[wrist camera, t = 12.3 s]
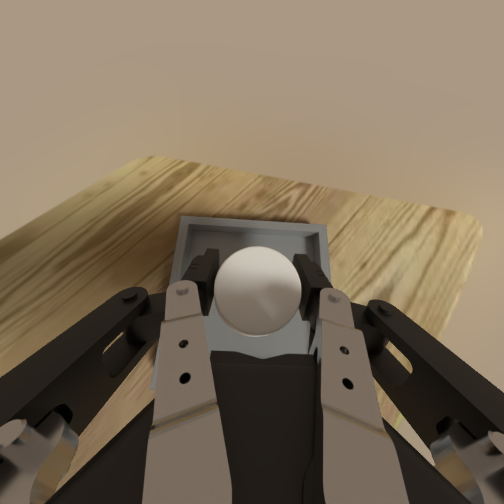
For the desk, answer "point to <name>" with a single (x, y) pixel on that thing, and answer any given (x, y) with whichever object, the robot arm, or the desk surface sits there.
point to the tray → (230, 241)
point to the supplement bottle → (257, 291)
